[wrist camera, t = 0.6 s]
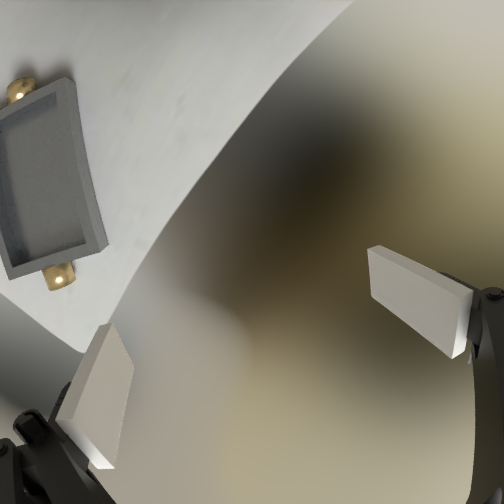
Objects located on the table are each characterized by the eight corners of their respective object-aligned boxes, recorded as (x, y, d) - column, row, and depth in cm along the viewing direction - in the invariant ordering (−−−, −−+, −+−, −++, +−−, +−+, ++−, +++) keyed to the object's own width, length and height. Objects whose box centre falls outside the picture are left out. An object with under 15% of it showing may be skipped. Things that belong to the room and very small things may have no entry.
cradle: (-11, 110, 28) (-26, 106, 24) (74, 66, 30) (62, 56, 25) (28, 289, 36) (15, 301, 32) (115, 265, 38) (107, 276, 34)
